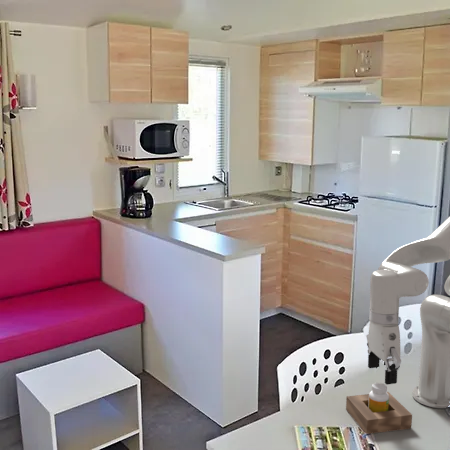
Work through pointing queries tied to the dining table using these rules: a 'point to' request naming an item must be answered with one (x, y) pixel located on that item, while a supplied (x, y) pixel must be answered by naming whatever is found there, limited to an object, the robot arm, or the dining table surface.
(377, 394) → the supplement bottle
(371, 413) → the socket block
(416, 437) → the dining table surface
